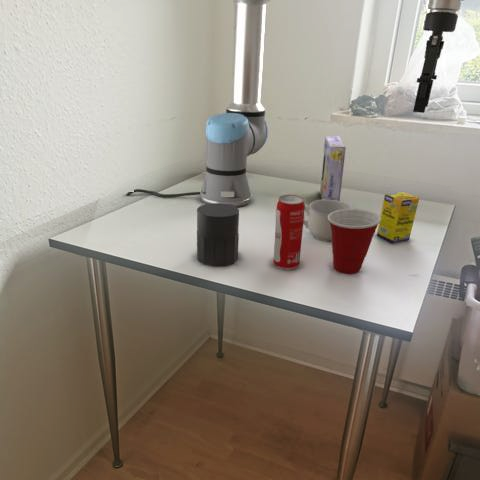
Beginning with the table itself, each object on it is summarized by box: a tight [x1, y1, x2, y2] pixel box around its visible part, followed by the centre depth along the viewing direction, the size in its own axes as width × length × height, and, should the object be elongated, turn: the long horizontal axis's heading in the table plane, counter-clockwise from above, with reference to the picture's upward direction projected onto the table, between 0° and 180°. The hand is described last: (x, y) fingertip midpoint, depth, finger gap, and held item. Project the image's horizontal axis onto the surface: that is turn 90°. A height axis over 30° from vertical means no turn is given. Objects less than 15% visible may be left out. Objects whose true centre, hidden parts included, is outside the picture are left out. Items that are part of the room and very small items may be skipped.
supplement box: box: [376, 191, 420, 244], centre depth 117 cm, size 6×6×11 cm
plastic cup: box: [328, 208, 381, 275], centre depth 100 cm, size 11×11×12 cm
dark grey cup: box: [196, 203, 240, 267], centre depth 102 cm, size 9×9×11 cm
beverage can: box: [272, 194, 306, 270], centre depth 99 cm, size 6×6×15 cm
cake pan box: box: [319, 135, 347, 201], centre depth 141 cm, size 19×5×18 cm, turn 175°
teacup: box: [303, 198, 354, 242], centre depth 117 cm, size 14×11×8 cm
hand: (420, 109), depth 123 cm, fingers open, 13 cm apart
